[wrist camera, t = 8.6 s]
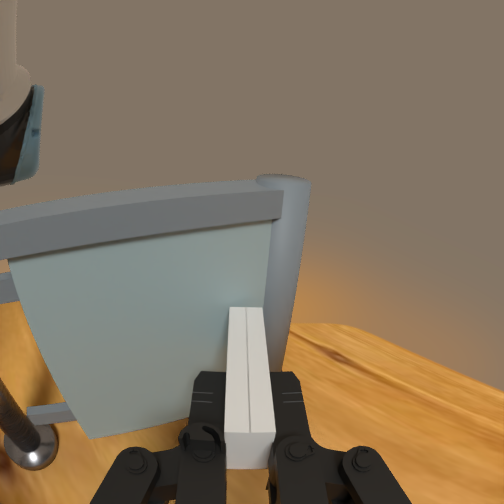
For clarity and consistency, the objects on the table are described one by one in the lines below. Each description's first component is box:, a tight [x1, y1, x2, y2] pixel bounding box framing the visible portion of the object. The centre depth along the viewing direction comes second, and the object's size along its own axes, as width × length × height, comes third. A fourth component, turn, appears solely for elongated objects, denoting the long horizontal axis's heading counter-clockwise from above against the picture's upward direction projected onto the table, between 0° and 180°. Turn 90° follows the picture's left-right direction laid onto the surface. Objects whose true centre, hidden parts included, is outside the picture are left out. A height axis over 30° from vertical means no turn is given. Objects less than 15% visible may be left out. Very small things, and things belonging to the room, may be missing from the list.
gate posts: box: [0, 378, 58, 471], centre depth 12 cm, size 18×7×16 cm, turn 118°
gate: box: [0, 174, 311, 439], centre depth 13 cm, size 16×2×14 cm, turn 118°
